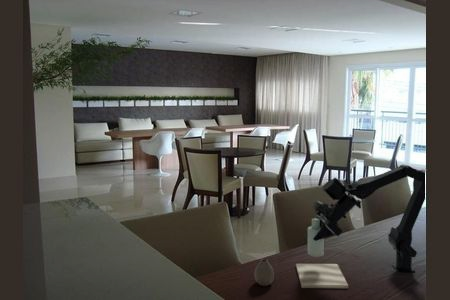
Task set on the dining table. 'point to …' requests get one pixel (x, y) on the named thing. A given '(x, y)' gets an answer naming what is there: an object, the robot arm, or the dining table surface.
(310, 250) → the oil bottle
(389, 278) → the dining table surface
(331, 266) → the birch board
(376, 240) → the dining table surface
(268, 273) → the vase
